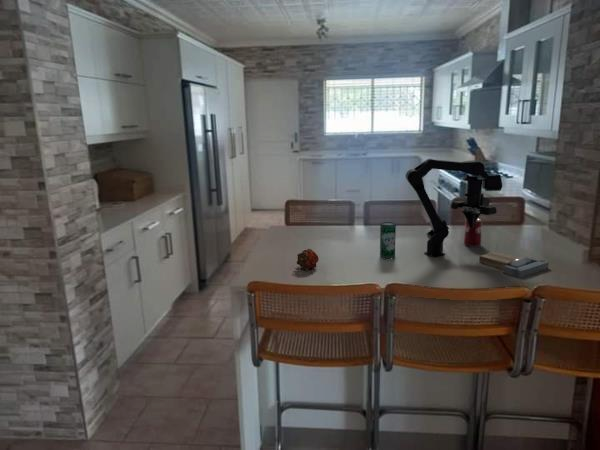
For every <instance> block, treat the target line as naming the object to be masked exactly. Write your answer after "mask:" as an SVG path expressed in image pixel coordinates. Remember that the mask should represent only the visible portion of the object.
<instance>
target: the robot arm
mask: <svg viewBox="0 0 600 450" xmlns="http://www.w3.org/2000/svg"><path fill="white" fill-rule="evenodd" d="M485 168H486V167H485V165H484V163H483V162H480V161H479V160H475V159H474V160H465V161H453V160H442V159H432V158H427V159H425V160H424V162H422V163H420V164H418V165H417V166H416V167H415V168H411V169H408V170H407V172H406V173H405V179H406V181H407V182H408V183H409V185H410V186H411V188H413V191H415V193H416V195H417V197H418V198H419V202H420V203H421V206H422V207H423V209H424V211H425V213H426V215H427V218H428V220H429V224H430V228H431V230H429V231H428V232H427V233H426V237H427V239H428V240H427V241H426V243H427V244H426V251H425V252H423V254H424V255H426V256H430V257H433V258H437V257H442V256H445V255H446V253H445V252H444V241H445V239H446V238H447V237H448V235H449V233H450V230H449V229H450V227H449V226H448V225H447V222H446V220H445V219H444V218H443V217H439V214H438V213H437V211H436V209H435V207H434V205H433V203H432V201H431V199H430V196H429V194H428V192H427V191H426V188H425V185H424V177H425V176H427V174H428V173H430V172H431V171H432V170H442V171H452V172H453V171H454V172H461V173H465V176H464V177H462V178H461V179H462V180H463V181H464V182H466V185H467V186H466V193H464V197H466V200H465V201H464V200H457V201H456V200H455V201H452V203H451V205H450V209H453V210H457V209H458V208H462V210H461V213H463V215H464V217H465V218H466V219H467V221H468V223H469V226H470V227H471V228H473V227H474V225H475V223H476V221H477V219H479V217H480V216H481V215H483V216H490V215H496V214H497V213H498V212H497V207H496V206H493V205H490V204H491V203H490V202H491V199H490V198H487V197H485V196H484V193H482V189H484V191H485V192H501V191H502V188H503V182H502V181H503V180H502V178H501V177H502V175H501V174H499V173H498V174H497V173H496V174H488V172H487V171H486V170H485ZM470 175H471V176H470ZM477 176H478V177H480V178H478V177H477ZM466 219H465V220H466Z"/></svg>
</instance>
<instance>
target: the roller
mask: <svg viewBox="0 0 600 450" xmlns="http://www.w3.org/2000/svg"><path fill="white" fill-rule="evenodd" d="M519 258H520V259H516V260H513V261H510V262H509V263H508V266H511V267H515V268H518V267H521V266H524V265H528V264H531V263H532V262H531V259H530V258H531V257H529V256H523V257H519Z"/></svg>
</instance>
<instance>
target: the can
mask: <svg viewBox="0 0 600 450" xmlns="http://www.w3.org/2000/svg"><path fill="white" fill-rule="evenodd" d="M396 224H397V223H396V222H393V221H383V222H380V225H379V227H380V229H379V233H380V234H379V239H380V240H379V243H380V244H379V258H380V257H381V258H380V259H382V258H385V259H384V260H386V259H387V260H388V259H390V260H392V259H391V258H394V259H395V258H396V233H397V231H396V227H397V225H396Z"/></svg>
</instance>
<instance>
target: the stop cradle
mask: <svg viewBox="0 0 600 450" xmlns="http://www.w3.org/2000/svg"><path fill="white" fill-rule="evenodd" d="M529 258H530V259H531V262H532V263H531V264H528V265H524V266H521V267H518V268H515V267H511V266H508V265H506V266H504V267H503V269H502V272H503V273H504V274H507V275H510V276H513V277H516V278H521V279H522V278H524V277H526V275H527V276H529V274H530V275H532V274H531V273H533V274H535V273H534V272H536V273H538V272H537V271H539V272H541V271H544V270H547V269H549V264H550V262H549V261H547V260H543V259H539V258H536V257H535V258H534V257H529ZM546 268H547V269H546ZM543 269H544V270H543ZM540 270H541V271H540Z"/></svg>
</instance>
